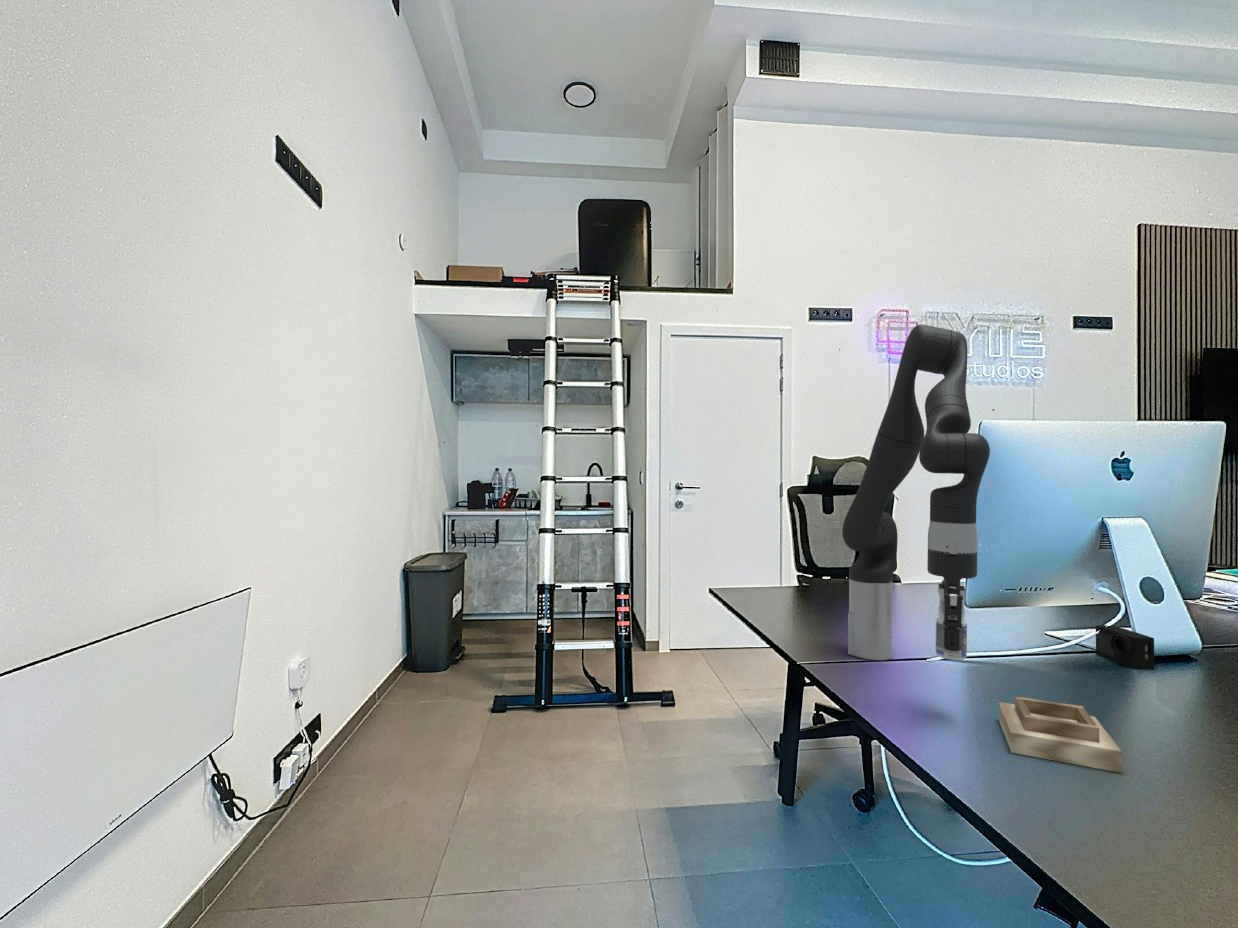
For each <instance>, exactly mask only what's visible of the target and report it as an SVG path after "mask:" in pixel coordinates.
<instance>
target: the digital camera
mask: <svg viewBox="0 0 1238 928" xmlns="http://www.w3.org/2000/svg"><path fill="white" fill-rule="evenodd" d="M1107 625H1108V624H1103V625H1102V624H1095V655H1096V656H1098V657H1100V658H1104V659H1106V660H1108V661H1111V662H1114V663H1117V664H1119V665H1122V666H1124V667H1127V668H1129V669H1131V670H1132V669H1133V670H1136V671H1138V670H1141V671H1144V670H1145V671H1146V670H1149V671H1150V670H1151V671H1154V670H1155V638H1154V637H1151V636H1148V635H1145V634H1144V633H1143V634H1142V633H1139V632H1135V631H1132V630H1130V629H1126V628H1124V627H1119V626H1116V625H1111V624H1109V625H1110V626H1107ZM1106 626H1107V627H1106ZM1099 630H1100V631H1099ZM1097 631H1099V633H1098V634H1096V632H1097Z"/></svg>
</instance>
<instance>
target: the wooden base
mask: <svg viewBox="0 0 1238 928" xmlns="http://www.w3.org/2000/svg"><path fill="white" fill-rule="evenodd" d="M998 721H999V722H998V723H999V724H1000V727H1001V730H1002V732H1003V734H1004V737H1005V740H1006V742H1007V745H1008V747H1009V751H1010V753H1011V754H1017V755H1023V756H1028V757H1033V758H1039V759H1044V760H1050V761H1056V762H1062V763H1066V764H1071V765H1078V766H1082V767H1088V768H1094V769H1100V770H1103V771H1104V770H1105V771H1108V772H1109V771H1111V772H1115V773H1120V774H1122V773H1123V766H1122V765H1123V762H1122V760H1123V759H1122V758H1123V757H1122V756H1123V755H1122V750H1121V748H1120V747H1119V746H1118V745H1117V744H1116V742H1115V740H1114V739H1113V738H1112V737H1111V736H1110V734H1109V733H1108V732H1107V731H1106V729H1105V728H1104V727H1103V725H1102V724H1101V723H1100V722H1099V720H1098V719H1097V718H1096V716H1092V715H1089V713H1088V711H1087V710H1086V709H1085V707H1084V706H1083V705H1077V704H1069V703H1062V702H1055V701H1051V700H1050V701H1049V700H1041V699H1035V698H1027V697H1022V696H1014V703H1007V702H1000V701H998Z"/></svg>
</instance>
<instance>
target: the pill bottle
mask: <svg viewBox="0 0 1238 928" xmlns="http://www.w3.org/2000/svg"><path fill="white" fill-rule="evenodd" d="M944 607H945V606H944ZM937 610H938V611H937V613H938V617H936V618H935V654H936V656H938V658H939V657H940V658H942V659H945V660H949V661H950V660H953V661H963V660H965V659H967V651H968V649H967V648H968V647H967V645H968V644H967V643H968V642H967V641H968V640H967V639H968V637H967V636H968V625H967V621H966V620H965V616H966V614H965V609H964V614H963V615H962V618H961V623H962V626H961V628H960V629H959V650H958V651H950V650H946V649H945V648H944V625H943V621H944V615H943V614H942V613H941V611H940V605H939V606H938V607H937ZM948 619H949V620H957V616H956V615H948Z"/></svg>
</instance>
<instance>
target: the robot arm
mask: <svg viewBox="0 0 1238 928" xmlns="http://www.w3.org/2000/svg"><path fill="white" fill-rule="evenodd" d="M968 351H969V350H968V342H967V338H966V336H965V334H963V333H962V332H959V331H957V330H952V329H948V328H942V327H938V326H933V325H927V324H916V325H915V326H914V327H913V328H912V329H911V330H910V332H909V334H908V336H907V338H906V341H905V343H904V346H903V349H902V354H901V357H900V361H899V366H898V368H897V372H896V376H895V380H894V384H893V388H892V391H891V395H890V398H889V401H888V404H887V406H886V409H885V412H884V416H883V417H882V420H881V423H880V426H879V428H878V430H877V434H876V437H875V440H874V442H873V445H872V448H871V452H870V456H869V458H868V462H867V465H866V468H865V470H864V473H863V475H862V478H861V481H860V484H859V488H858V489H857V492H856V494H855V496H854V498H853V500H852V502H851V505H850V507H849V508H848V511H847V512H846V516H845V518H844V520H843V524H842V528H841V531H842V533H841V534H842V538H843V541H844V544H845V545H846V546H847V547H848V548H849V549H851V550H852V551H855V552H859V555H858V557H857V559H856V560H855V562H854V563H852V564H851V565H850V567H849V570H848V571H849V572H848V573H849V574H848V590H849V591H848V599H849V600H848V608H849V609H848V613H847V615H848V616H847V620H848V621H847V636H848V637H847V639H848V640H847V645H848V646H847V647H848V648H847V649H848V650H847V653H848V655H849V656H854V657H857V658H860V659H864V660H871V661H887V660H892V659H893V655H894V653H893V650H894V649H893V648H894V646H893V645H894V644H893V638H894V636H893V633H894V631H893V627H894V626H893V622H894V621H893V619H894V618H893V616H894V615H893V613H894V612H893V610H894V609H893V575H894V572H895V570H896V567H897V561H898V560H897V558H898V557H897V555H898V529H897V528H898V527H897V524H896V522H895V520H894V518H893V517H892V516H891V515H890V514H889V513H888V512H886V511H885V510H886V507H887V504H888V501H889V499H890V497H891V496H892V495H893V493H895V490H896V489H897V488H898V487H899V485H900V484H901V483H902V482H903V481H904V479H905V478H906V477H907V476H908V475H909V474H910V471H912V470H913V467H914V466H915V463H916V461H917V459H918V458H919V462H920V465H921V467H922V468H923V469H924V470H926V471H927V472H929V473H931V474H954V475H957V474H959V475H960V474H962V475H963V477H962V479H961V480H960V481H959V482H958V483H957V484H953V485H950V486H942V487H937V488H935V489H933V490H932V491H931V493H930V495H929V496H930V498H929V506H930V507H929V525H928V532H927V569H926V570H927V572H928V573H929V574H930V575H933V576H936V577H942V578H943V579H942V580H941V583H938V588H937V589H938V596H939V606H940V611H941V613H942V614H943V615H944V621H943V625H944V648H945V649H946V650H950V651H958V650H959V629H960V628H961V626H962V623H961V618H962V615H963V614H964V610H965V605H964V604H965V598H966V588H965V585H961V580H963V579H967V580H968V579H969V580H970V579H974V578H976V577H977V576H978V545H979V544H978V541H979V538H978V536H979V535H978V530H977V503H978V502H977V501H978V494H979V491H980V490H979V489H980V485H981V482H982V479H983V475H984V473H985V471H986V468H987V465H988V463H989V459H990V454H991V447H990V444H989V442H988V440H987V439H986V438H985V437H984V435H981V434H980V433H973V432H972V433H971V432H970V433H969V431H970V429H971V425H972V423H971V421H972V419H971V415H970V411H969V405H968V401H967V393H966V392H967V389H966V388H967V387H966V385H967V373H968ZM918 371H922V372H926V373H931V374H935V375H943V376H944V377H943V378H942V379H941V380H940V381H939V382H938V383H936V384H934V386H933V387H932V388H931V389H930V391H929V392H928V393H927V395H926V397H925V402H924V413H925V421H926V431H925V428H924V427H925V426H924V423H923V419H922V415H921V412H920V409H919V406H918V403H917V398H916V391H915V389H916V386H915V385H916V377H917V373H918ZM944 606H945V607H944ZM948 615H956V616H957V620H949V619H948Z"/></svg>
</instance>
